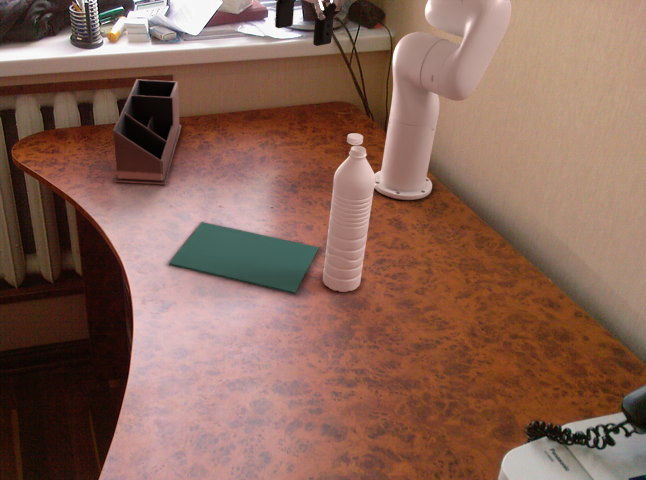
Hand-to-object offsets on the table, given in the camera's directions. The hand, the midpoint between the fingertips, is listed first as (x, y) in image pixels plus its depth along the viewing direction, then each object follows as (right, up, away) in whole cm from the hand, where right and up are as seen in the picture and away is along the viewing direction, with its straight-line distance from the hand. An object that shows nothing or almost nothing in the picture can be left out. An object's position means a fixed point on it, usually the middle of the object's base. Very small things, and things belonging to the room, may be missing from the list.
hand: (302, 35), depth 117 cm
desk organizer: (-32, -10, +47) cm, 57 cm away
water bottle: (+7, -38, +11) cm, 41 cm away
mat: (-10, -34, +15) cm, 39 cm away
